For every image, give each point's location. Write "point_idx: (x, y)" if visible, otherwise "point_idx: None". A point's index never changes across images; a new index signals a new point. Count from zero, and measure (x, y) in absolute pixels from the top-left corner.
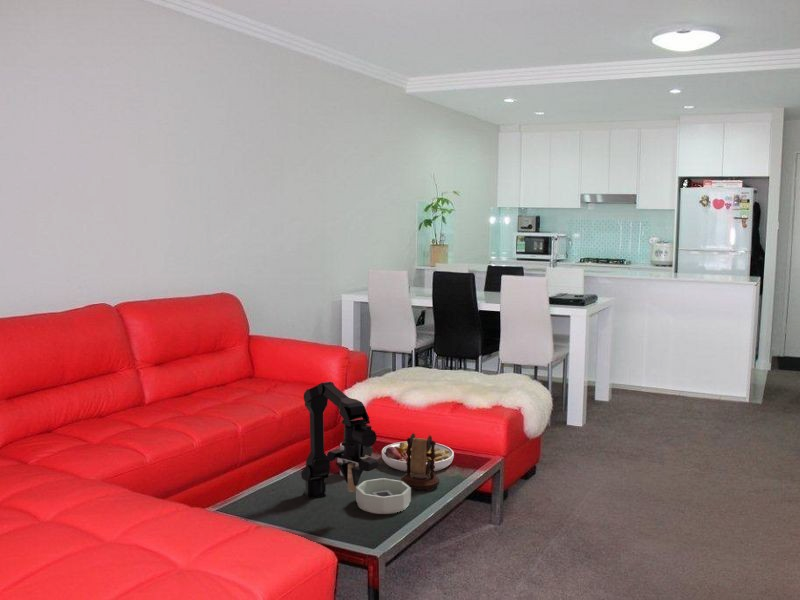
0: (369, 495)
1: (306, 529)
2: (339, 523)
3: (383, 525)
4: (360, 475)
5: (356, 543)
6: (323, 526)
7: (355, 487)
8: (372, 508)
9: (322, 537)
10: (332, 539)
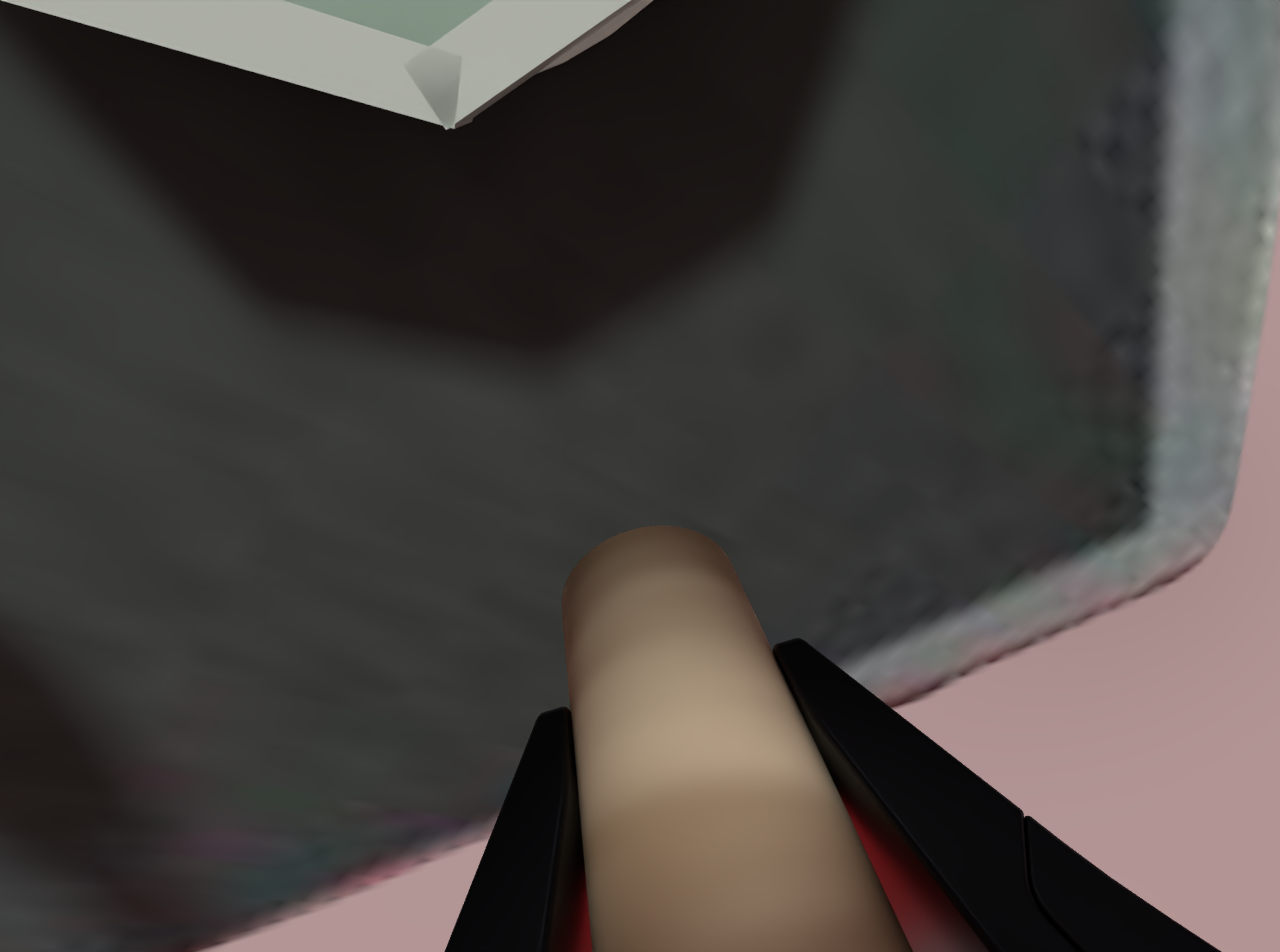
0: (562, 46)
1: None
2: None
3: (966, 189)
4: (1050, 844)
5: (999, 581)
6: None
7: (758, 623)
8: (599, 31)
9: None
10: None
